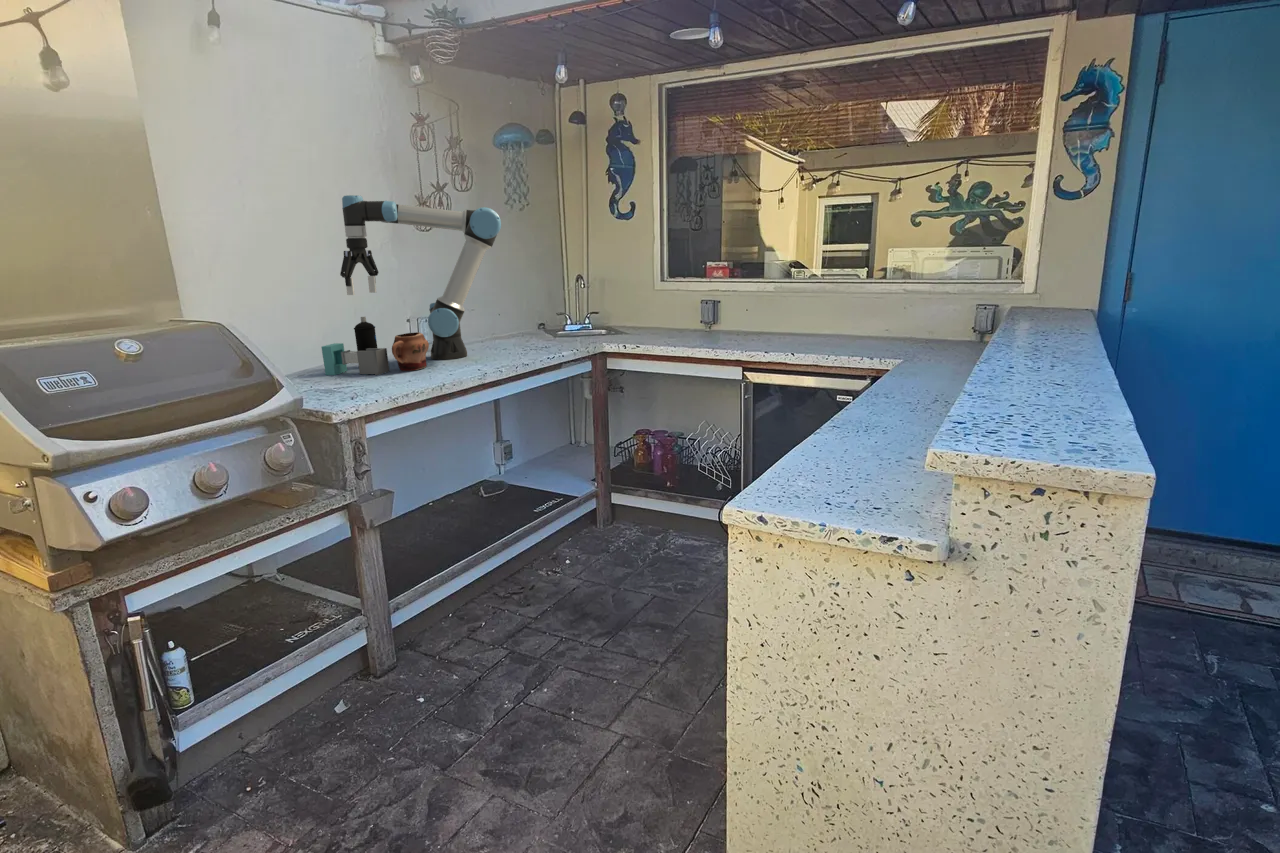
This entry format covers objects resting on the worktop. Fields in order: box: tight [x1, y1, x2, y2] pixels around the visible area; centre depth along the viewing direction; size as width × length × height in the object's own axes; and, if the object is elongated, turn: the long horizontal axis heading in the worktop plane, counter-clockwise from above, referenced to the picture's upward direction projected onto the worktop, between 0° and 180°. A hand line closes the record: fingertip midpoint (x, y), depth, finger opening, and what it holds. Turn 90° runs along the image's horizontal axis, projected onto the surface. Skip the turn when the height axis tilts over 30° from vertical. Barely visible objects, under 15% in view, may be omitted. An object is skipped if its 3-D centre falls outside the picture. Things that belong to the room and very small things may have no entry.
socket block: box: [321, 342, 348, 376], centre depth 280 cm, size 4×8×11 cm, turn 168°
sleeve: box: [356, 347, 390, 376], centre depth 277 cm, size 8×7×9 cm
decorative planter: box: [391, 332, 430, 372], centre depth 281 cm, size 20×12×14 cm, turn 167°
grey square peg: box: [341, 349, 358, 365], centre depth 278 cm, size 14×5×5 cm, turn 78°
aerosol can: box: [353, 316, 378, 351], centre depth 292 cm, size 8×8×20 cm
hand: (362, 293), depth 284 cm, fingers open, 13 cm apart
